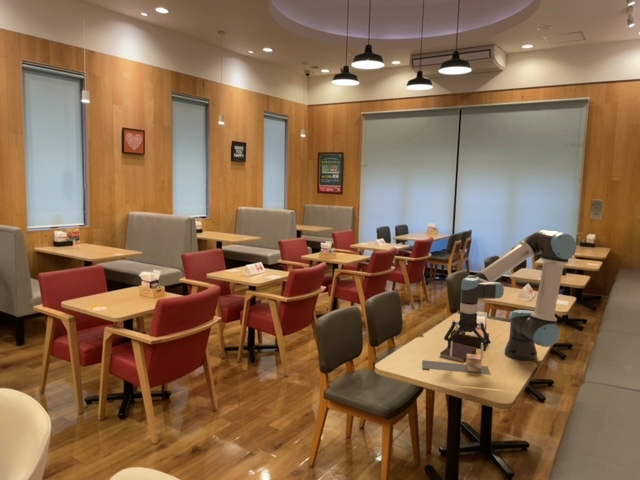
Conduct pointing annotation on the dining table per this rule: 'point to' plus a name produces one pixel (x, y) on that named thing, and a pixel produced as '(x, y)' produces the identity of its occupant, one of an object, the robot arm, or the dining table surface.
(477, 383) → the dining table surface
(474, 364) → the block
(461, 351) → the book
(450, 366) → the mat
